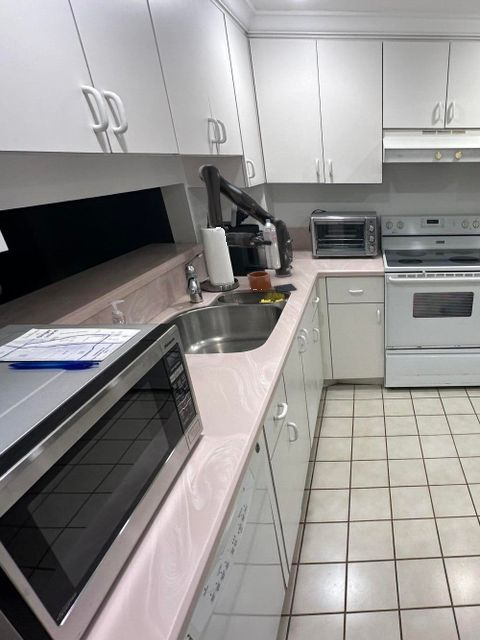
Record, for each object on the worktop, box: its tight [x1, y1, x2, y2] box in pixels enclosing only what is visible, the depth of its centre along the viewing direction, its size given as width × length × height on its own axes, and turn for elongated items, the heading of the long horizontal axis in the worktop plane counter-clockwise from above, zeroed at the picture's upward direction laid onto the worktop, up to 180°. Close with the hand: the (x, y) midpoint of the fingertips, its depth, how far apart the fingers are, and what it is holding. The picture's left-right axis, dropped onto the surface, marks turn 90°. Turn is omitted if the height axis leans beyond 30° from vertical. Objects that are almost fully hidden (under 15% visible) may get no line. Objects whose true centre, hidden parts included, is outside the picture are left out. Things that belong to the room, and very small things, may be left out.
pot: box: [246, 270, 273, 293], centre depth 212 cm, size 11×11×8 cm
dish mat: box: [273, 283, 298, 294], centre depth 213 cm, size 11×10×1 cm
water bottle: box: [261, 219, 280, 270], centre depth 201 cm, size 7×7×25 cm
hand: (274, 241), depth 200 cm, fingers closed on water bottle, 6 cm apart
